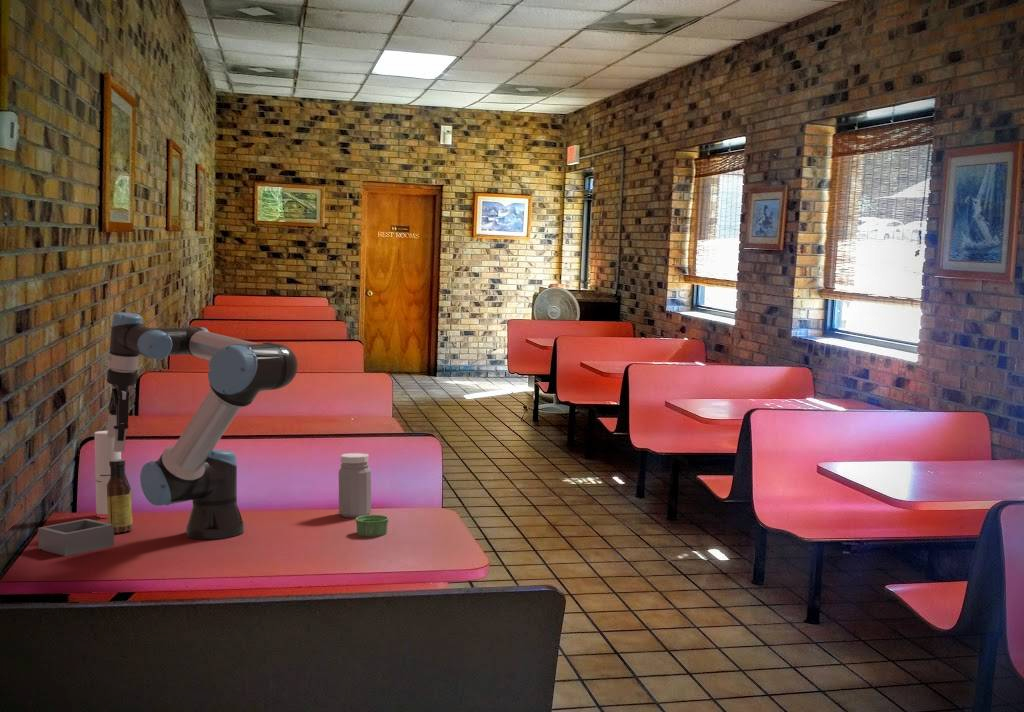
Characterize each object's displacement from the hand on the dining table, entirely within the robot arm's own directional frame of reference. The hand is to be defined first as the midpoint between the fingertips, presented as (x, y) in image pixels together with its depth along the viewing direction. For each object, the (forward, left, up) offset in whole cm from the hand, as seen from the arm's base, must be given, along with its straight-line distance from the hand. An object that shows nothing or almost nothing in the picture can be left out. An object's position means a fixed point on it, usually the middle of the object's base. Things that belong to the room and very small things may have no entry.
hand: (115, 444), depth 273 cm
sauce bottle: (-2, 0, -24) cm, 24 cm away
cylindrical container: (+19, -10, -24) cm, 33 cm away
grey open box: (-9, +17, -24) cm, 31 cm away
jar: (-39, -54, -24) cm, 70 cm away
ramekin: (-60, -39, -24) cm, 75 cm away
